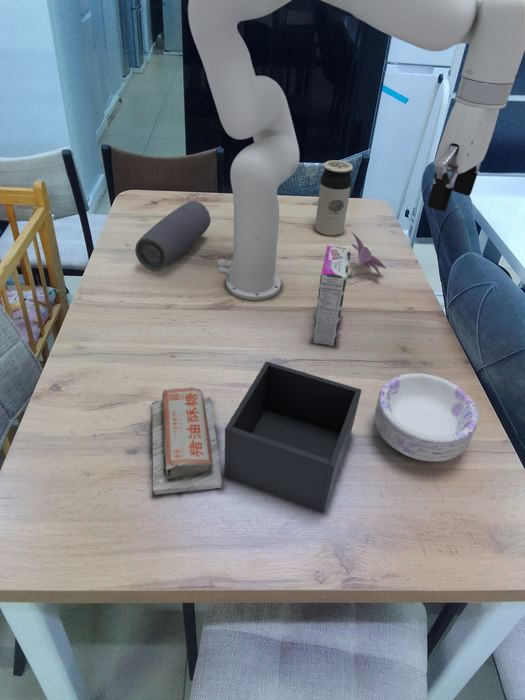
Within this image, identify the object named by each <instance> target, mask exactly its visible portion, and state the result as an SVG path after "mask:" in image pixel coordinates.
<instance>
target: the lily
mask: <svg viewBox="0 0 525 700" xmlns="http://www.w3.org/2000/svg"><path fill="white" fill-rule="evenodd" d="M351 234H352V235H353V237H354V239H355V241H356V244H357V245H356V244H354V243H350V246H352V247H353V248H354V249H355V250H356V251H357V252H358V261H357V263H356V264H355V265H354V267H352V270H351V271H350V273H349V275H348V277H349V278H350V277H351V276H352V274H353V272H354V271H355V269H356V268H357V266H359V264H364V265H368V266H371V267H372V268H373V269H374V271H375V272H376V273H377V274H378V275H379V277H382V275H381V272H380V270H379V267H380V268H382V269H385V270H387V267H386V266H385V264H384V263H382V261H381V260H380V259H379V258H377V257H376V256H375V255H373V251H371V250H370V249H369V248H368V247H367V246H364V243H363V242H362V240H361V239H360V238H359V237H358V236H357V235H356V233H354V231H351Z"/></svg>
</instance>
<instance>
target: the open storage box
mask: <svg viewBox="0 0 525 700" xmlns="http://www.w3.org/2000/svg"><path fill="white" fill-rule="evenodd" d="M361 394H362V389H361V388H357V387H354V386H351V385H347V384H344V383H341V382H337V381H334V380H331V379H328V378H324V377H320V376H317V375H314V374H311V373H306V372H303V371H301V370H297V369H294V368H290V367H287V366H284V365H282V364H281V365H280V364H277V363H273V362H270V361H267V360H266V361H264V363H263V365H262V367H261V369H260V370H259V372H258V374H257V375H256V377H255V379H254V380H253V382H252V384H251V385H250V387H249V388H248V390H247V392H246V393H245V395H244V397H243V398H242V400H241V401H240V403H239V404H238V407H237V408H236V410H235V412H234V413H233V414H232V416H231V418H230V420H229V421H228V423H227V424H226V426H225V428H224V477H227V478H229V479H231V480H235V481H238V482H240V483H242V484H245V485H249V486H251V487H254V488H256V489H259V490H261V491H264V492H267V493H270V494H271V495H275V496H278V497H281V498H283V499H286V500H288V501H292V502H294V503H297V504H300V505H302V506H305V507H307V508H310V509H313V510H317V511H319V512H321V513H325V511H326V508H327V506H328V502H329V499H330V497H331V493H332V490H333V488H334V486H335V482H336V479H337V476H338V474H339V470H340V467H341V465H342V461H343V458H344V456H345V452H346V450H347V447H348V444H349V442H350V438H351V436H352V431H353V427H354V423H355V419H356V414H357V411H358V407H359V402H360V399H361Z"/></svg>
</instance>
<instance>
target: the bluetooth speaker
mask: <svg viewBox="0 0 525 700" xmlns="http://www.w3.org/2000/svg"><path fill="white" fill-rule="evenodd" d="M211 221H212V220H211V214H210V212H209V211H208V209H207V207H206V206H205V205H204V204H203V203H201V202H199V201H196V200H192V201H188V202H186V203H183V204H181V205H180V206H178V207H177V208H176V209H174V210H173V211H171V212H170V213H169V214H168V215H167V214H166V216H165V217H163V218H162V219H161V220H159V221H158V222H157V223H156V224H155V225H153V226H152V227H151V228H150V229H148V230H147V231H146V232H145V233H144V234H143V235H142V236H141V237H140V238H139V239H138V240H137V243H136V244H135V247H134V249H135V250H134V251H135V256H136V259H137V260H138V261H139V263H140V264H141V265H142V267H144V268H146V269H148V270H151V271H155V272H160V271H162V270H164V269H165V268H167V267H168V266H170V265H172V264H173V263H175V262H176V261H178V260H179V259H180V258H181V257H182V256H183V255H184V254H185V253H186V252H188V251H189V250H190V249H191V248H192V247H193V246H194V244H195V243H197V241H198V240H199V239H200V238H201V237H202V236H203V235H204V234H205V233H206V231H207V230H208V229H209V227H210V225H211Z"/></svg>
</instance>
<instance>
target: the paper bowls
mask: <svg viewBox="0 0 525 700" xmlns="http://www.w3.org/2000/svg"><path fill="white" fill-rule="evenodd" d="M374 421H375V427H376V430H377V431H378V434H379V435H380V437H381V438H382V439H383V440H384V441H385V442H386V443H387V444H388V445H389V446H390V447H392V448H393V449H394V450H396V451H398V452H399V453H401V454H403V455H404V456H407V457H410V458H412V459H414V460H419V461H423V462H425V461H426V462H445V461H449V460H451V459H454V458H456V457H459V456H460V455H462V454H463V453H464V452H465V451H466V450H467V448H468V446H469V444H470V443H471V440H472V439H473V437H474V434H475V432H476V429H477V427H478V424H479V413H478V409H477V407H476V404H475V402H474V400H473V399H472V398H471V397H470V396H469V394H468V393H466V392H465V391H464V390H463V389H462V388H461V387H459V386H458V385H456V384H455V383H453V382H451V381H450V380H448V379H445V378H442V377H440V376H437V375H433V374H427V373H422V372H412V373H411V372H410V373H403V374H400V375H396V376H394V377H392V378H390V379H389V380H388V381H387V382H385V383H384V384H383V386H382V387H381V389H380V391H379V394H378V398H377V402H376V406H375V411H374Z"/></svg>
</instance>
